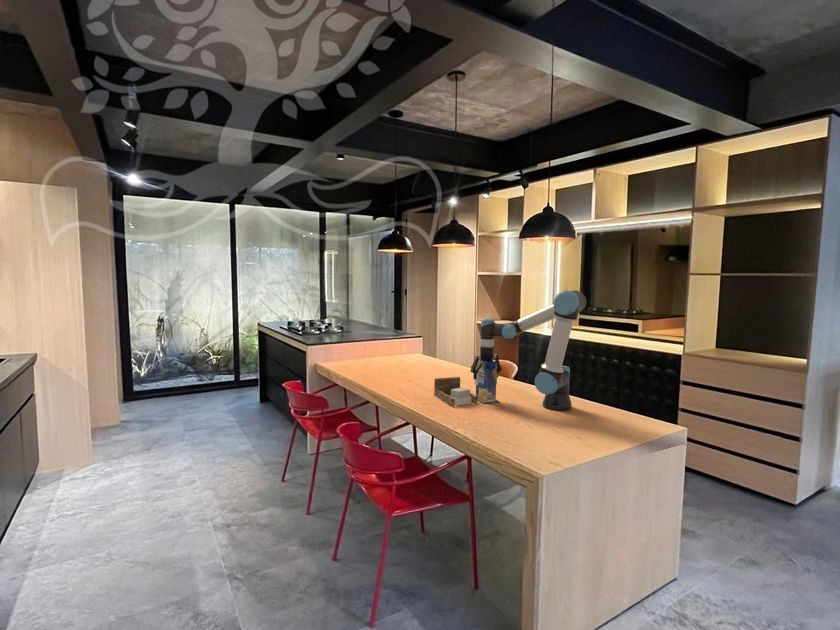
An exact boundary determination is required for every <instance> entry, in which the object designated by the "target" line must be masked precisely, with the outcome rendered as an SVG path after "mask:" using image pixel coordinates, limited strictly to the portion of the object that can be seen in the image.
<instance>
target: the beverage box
mask: <svg viewBox="0 0 840 630" xmlns="http://www.w3.org/2000/svg"><path fill="white" fill-rule="evenodd" d="M479 361H480V358H479ZM479 361H478V363H479ZM481 362H482V361H481ZM477 365H478V364H477ZM477 374H478V385H475V396H477V397H478V399H480V400H482V401H484V402H490V401H496V400H497V384H496V377H497V362H495V360H493V361H485V362H483V364H482V366H481V368H480V369H479V371H478V372H477Z"/></svg>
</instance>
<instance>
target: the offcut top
mask: <svg viewBox="0 0 840 630" xmlns="http://www.w3.org/2000/svg"><path fill="white" fill-rule="evenodd" d="M470 393H471V389H470V388H467V387H461V388H456V389H451V395H450V396H451V397H454V398H457V399H460V398H466V397H470Z"/></svg>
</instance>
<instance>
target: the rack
mask: <svg viewBox="0 0 840 630" xmlns="http://www.w3.org/2000/svg"><path fill="white" fill-rule="evenodd" d="M433 388H434V392H433V393H434V397H436V398H438V399H439V400H441V401H442V402H444V403H445V404H447V405H449V407H454V406H455V405H454V398H452V397H450V396H451V389H456V388H462V387H461V377H460V376H450V377H438V378H437V377H436V378H435V377H434V385H433ZM470 397H471V404H474V405H477V404H478V402H479V401H478V397H477V396H476V394H473V393H471V392H470Z"/></svg>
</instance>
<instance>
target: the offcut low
mask: <svg viewBox="0 0 840 630" xmlns="http://www.w3.org/2000/svg"><path fill="white" fill-rule="evenodd" d="M449 396H450V397H451V395H449ZM452 398H454V397H452ZM471 404H472V402H471V397H466V398H460V399H457V398H454V406H463V405H464V406H465V405H471Z"/></svg>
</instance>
